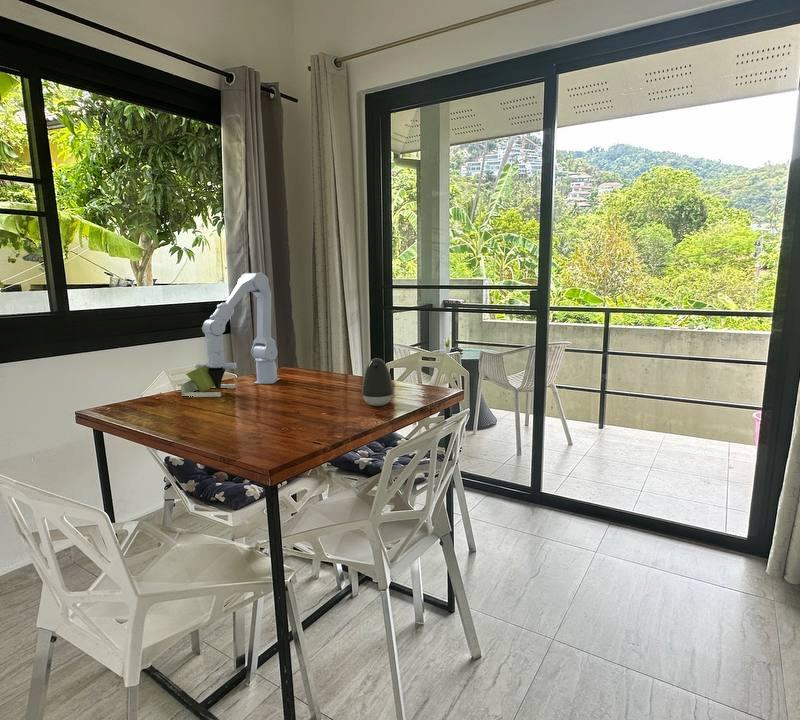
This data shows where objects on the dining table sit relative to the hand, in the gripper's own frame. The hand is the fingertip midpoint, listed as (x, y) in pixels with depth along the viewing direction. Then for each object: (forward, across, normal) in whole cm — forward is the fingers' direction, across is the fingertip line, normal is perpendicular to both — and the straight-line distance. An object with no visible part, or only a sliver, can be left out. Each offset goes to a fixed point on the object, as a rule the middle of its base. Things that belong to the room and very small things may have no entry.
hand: (218, 387), depth 190 cm
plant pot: (+1, -4, 0) cm, 4 cm away
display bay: (+2, -2, 0) cm, 3 cm away
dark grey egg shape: (+2, +62, -21) cm, 65 cm away
